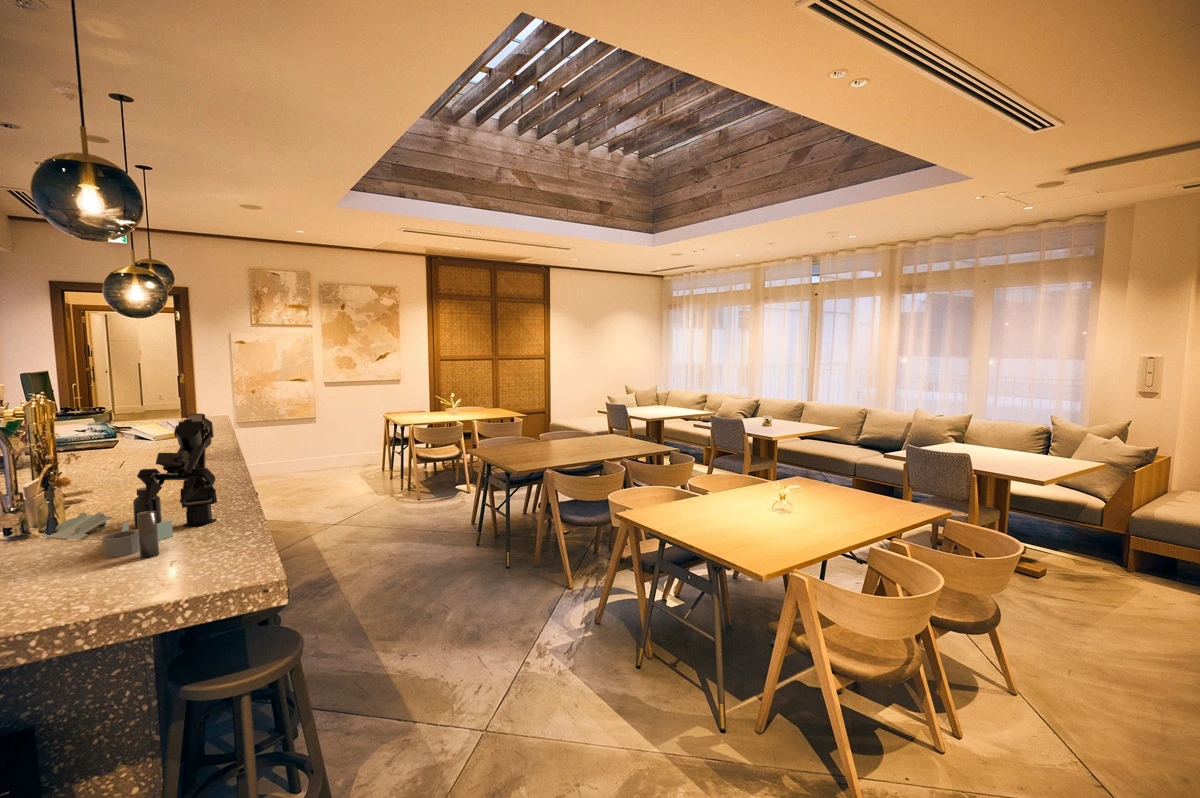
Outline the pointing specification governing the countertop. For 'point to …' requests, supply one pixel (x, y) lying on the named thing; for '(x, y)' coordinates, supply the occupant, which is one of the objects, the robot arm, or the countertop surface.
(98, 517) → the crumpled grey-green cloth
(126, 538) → the grey forked piece
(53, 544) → the countertop surface
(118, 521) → the countertop surface
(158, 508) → the supplement bottle
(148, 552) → the hinge pin
